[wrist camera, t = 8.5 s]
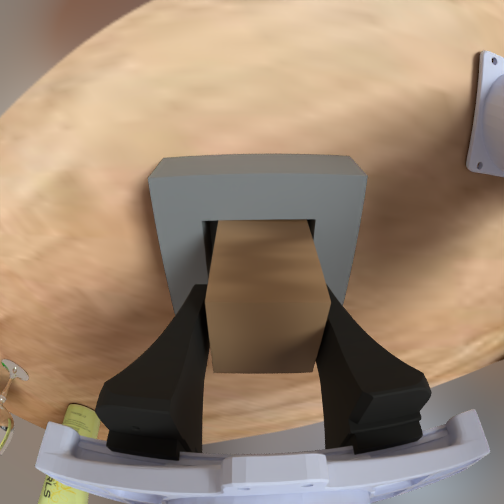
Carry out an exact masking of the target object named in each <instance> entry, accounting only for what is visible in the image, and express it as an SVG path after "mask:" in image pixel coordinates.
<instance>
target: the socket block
mask: <svg viewBox="0 0 504 504" xmlns="http://www.w3.org/2000/svg"><path fill="white" fill-rule="evenodd" d="M367 178H368V176H367V175H366V173H365V172H364V171H363V170H362V169H361V168H360V167H359V166H358V165H357V164H356V163H355V161H354V160H353V159H352V158H351V157H350V156H338V155H312V154H229V155H204V156H186V157H171V158H163V159H162V161H161V162H160V163H159V164H158V166H157V167H156V168H155V170H154V171H153V172H152V173H151V175H150V176H149V177H148V183H149V189H150V195H151V201H152V207H153V213H154V218H155V224H156V229H157V235H158V240H159V245H160V250H161V255H162V260H163V264H164V269H165V274H166V278H167V283H168V287H169V291H170V296H171V300H172V304H173V308H174V312H175V315H176V314H177V312H178V311H179V309H180V308H181V306H182V305H183V303H184V302H185V300H186V298H187V296H188V295H189V293H190V291H191V289H192V287H193V286H194V285H195V284H208V279H209V273H210V267H211V261H212V255H213V249H214V243H215V237H216V232H217V226H218V220H272V219H307V222H308V225H309V229H310V232H311V235H312V238H313V241H314V245H315V248H316V251H317V255H318V258H319V261H320V265H321V268H322V272H323V275H324V279H325V282H326V284H327V285H328V287H329V288H330V289H331V291H332V292H333V294H334V295H335V296H336V298H337V299H338V300H339V302H340V303H341V304H342V306H343V303H344V299H345V295H346V290H347V286H348V281H349V277H350V272H351V268H352V263H353V258H354V253H355V248H356V243H357V238H358V232H359V227H360V221H361V216H362V210H363V204H364V198H365V191H366V184H367Z"/></svg>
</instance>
